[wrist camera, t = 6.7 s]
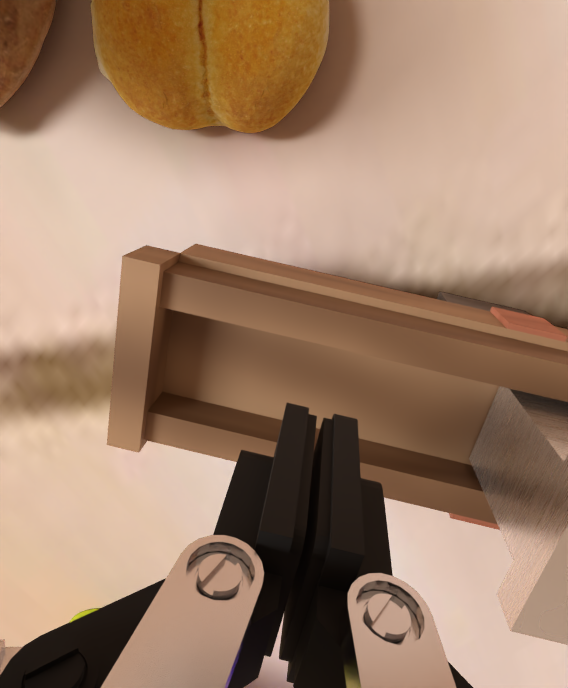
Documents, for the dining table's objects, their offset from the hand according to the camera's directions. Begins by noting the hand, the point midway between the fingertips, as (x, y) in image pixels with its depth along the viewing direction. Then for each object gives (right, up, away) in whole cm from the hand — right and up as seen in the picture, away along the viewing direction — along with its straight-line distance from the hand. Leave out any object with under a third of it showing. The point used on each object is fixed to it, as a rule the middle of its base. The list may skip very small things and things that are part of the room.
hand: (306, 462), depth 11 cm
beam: (+8, +2, +12) cm, 15 cm away
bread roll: (-3, +16, +9) cm, 18 cm away
